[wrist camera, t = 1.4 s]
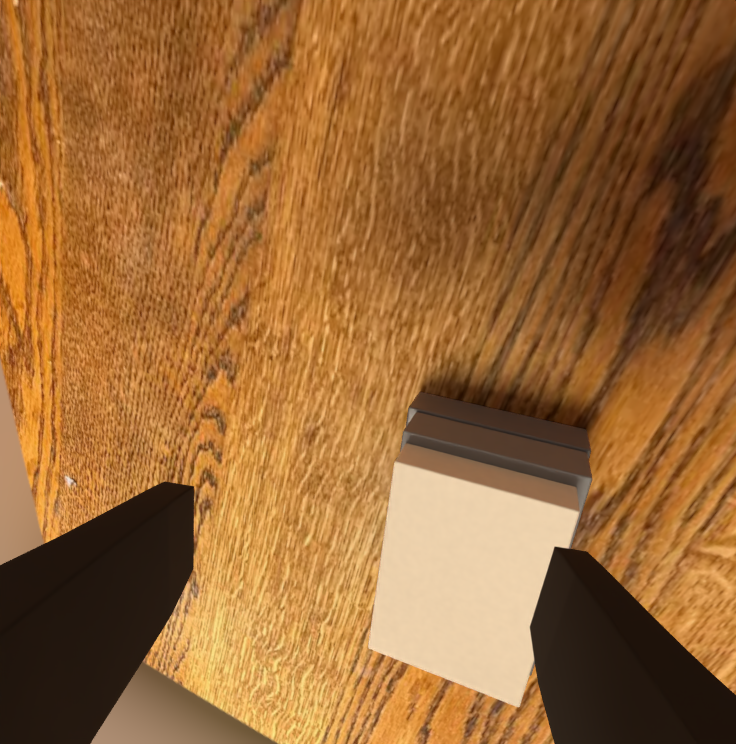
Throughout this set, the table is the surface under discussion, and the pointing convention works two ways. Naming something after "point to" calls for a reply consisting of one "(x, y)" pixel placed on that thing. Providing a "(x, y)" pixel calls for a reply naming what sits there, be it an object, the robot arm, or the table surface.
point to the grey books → (502, 441)
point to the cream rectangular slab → (466, 568)
